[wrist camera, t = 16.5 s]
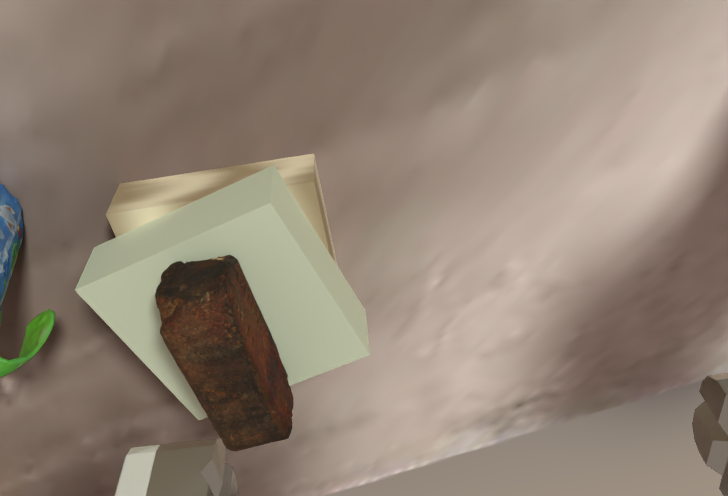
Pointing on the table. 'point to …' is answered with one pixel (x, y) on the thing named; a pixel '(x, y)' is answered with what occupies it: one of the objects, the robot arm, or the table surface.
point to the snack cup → (3, 242)
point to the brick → (225, 351)
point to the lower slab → (173, 192)
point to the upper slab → (260, 266)
